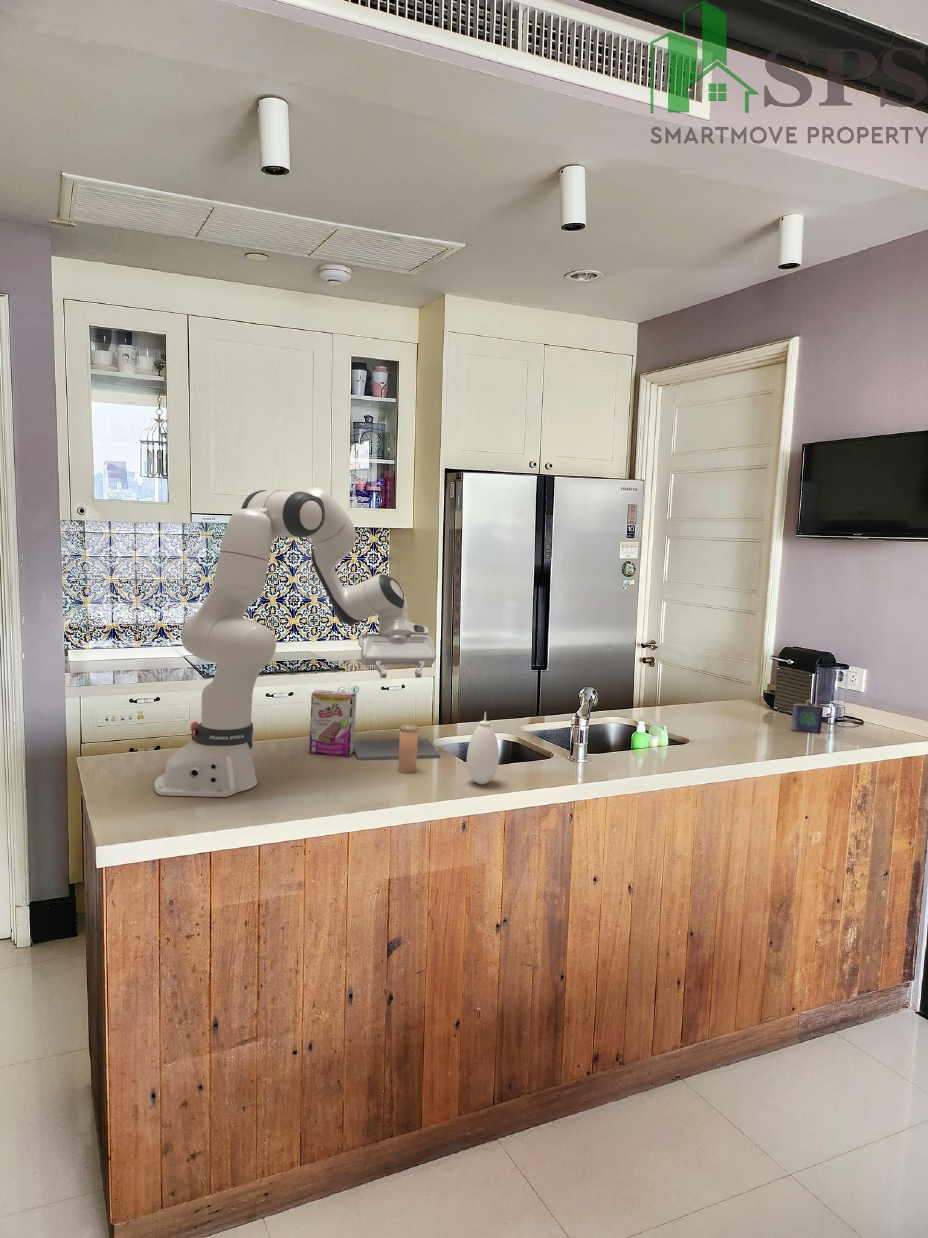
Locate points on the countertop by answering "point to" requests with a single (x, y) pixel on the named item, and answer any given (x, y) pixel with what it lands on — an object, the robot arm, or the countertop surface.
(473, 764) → the white air blower bulb
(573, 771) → the countertop surface
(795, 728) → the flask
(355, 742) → the mat
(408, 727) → the spice jar
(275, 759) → the countertop surface
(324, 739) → the candy bar box
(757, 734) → the countertop surface
